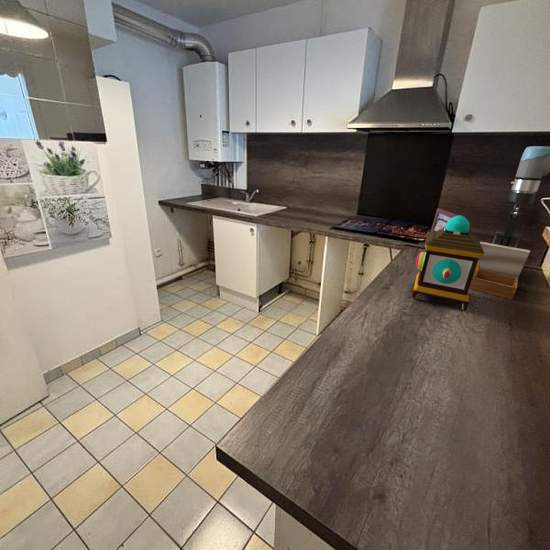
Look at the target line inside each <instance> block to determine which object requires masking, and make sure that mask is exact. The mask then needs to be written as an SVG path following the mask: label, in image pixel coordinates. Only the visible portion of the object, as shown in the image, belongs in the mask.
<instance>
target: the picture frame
mask: <svg viewBox="0 0 550 550" xmlns="http://www.w3.org/2000/svg"><path fill="white" fill-rule="evenodd" d="M455 216H459V214H456V213H453V212H450V211H448V210H444V209H442V208H439V207H438V208H436V211H435V215H434V219H433V222H432V226H431V229H430V232H432V231H433V230H435V231H438V230H441V229H442V228H444V227H445V226H446V224H447V222H448V221H449V220H450V219H451V218H453V217H455ZM425 251H426V249H425V250H424V252H425Z"/></svg>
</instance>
